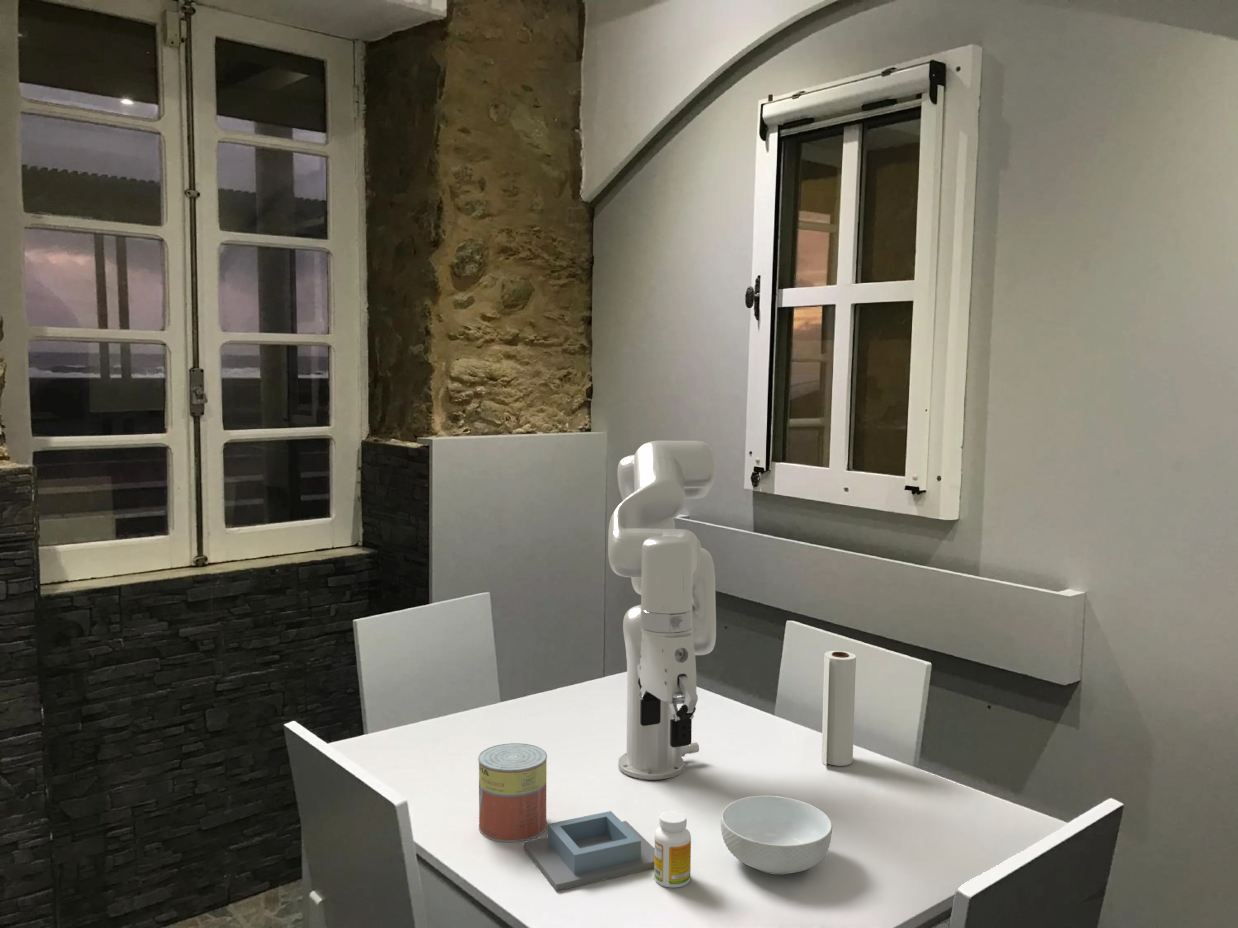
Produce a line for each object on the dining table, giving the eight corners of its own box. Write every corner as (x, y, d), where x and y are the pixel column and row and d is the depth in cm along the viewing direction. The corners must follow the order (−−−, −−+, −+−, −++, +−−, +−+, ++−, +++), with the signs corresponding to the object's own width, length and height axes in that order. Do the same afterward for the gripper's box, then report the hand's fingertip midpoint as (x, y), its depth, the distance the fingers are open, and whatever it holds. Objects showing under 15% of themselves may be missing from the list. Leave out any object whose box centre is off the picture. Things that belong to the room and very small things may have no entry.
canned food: (484, 809, 167) (484, 742, 165) (550, 811, 166) (550, 743, 165) (472, 841, 155) (472, 769, 154) (543, 842, 155) (543, 770, 154)
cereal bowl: (756, 900, 139) (757, 853, 138) (701, 848, 154) (701, 805, 153) (853, 876, 145) (855, 831, 145) (791, 828, 161) (792, 787, 160)
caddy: (625, 826, 161) (626, 803, 160) (665, 865, 148) (665, 840, 148) (523, 848, 153) (523, 823, 153) (556, 890, 141) (556, 864, 140)
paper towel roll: (842, 753, 193) (845, 648, 191) (858, 764, 187) (862, 656, 185) (810, 757, 191) (813, 651, 189) (826, 769, 185) (829, 660, 183)
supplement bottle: (695, 874, 146) (696, 812, 145) (682, 891, 141) (683, 827, 140) (662, 866, 148) (663, 805, 147) (648, 883, 143) (649, 820, 142)
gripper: (718, 631, 136) (716, 750, 137) (662, 606, 152) (661, 713, 153) (671, 636, 133) (669, 758, 134) (618, 610, 148) (617, 720, 150)
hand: (665, 734), depth 143 cm, fingers open, 9 cm apart
